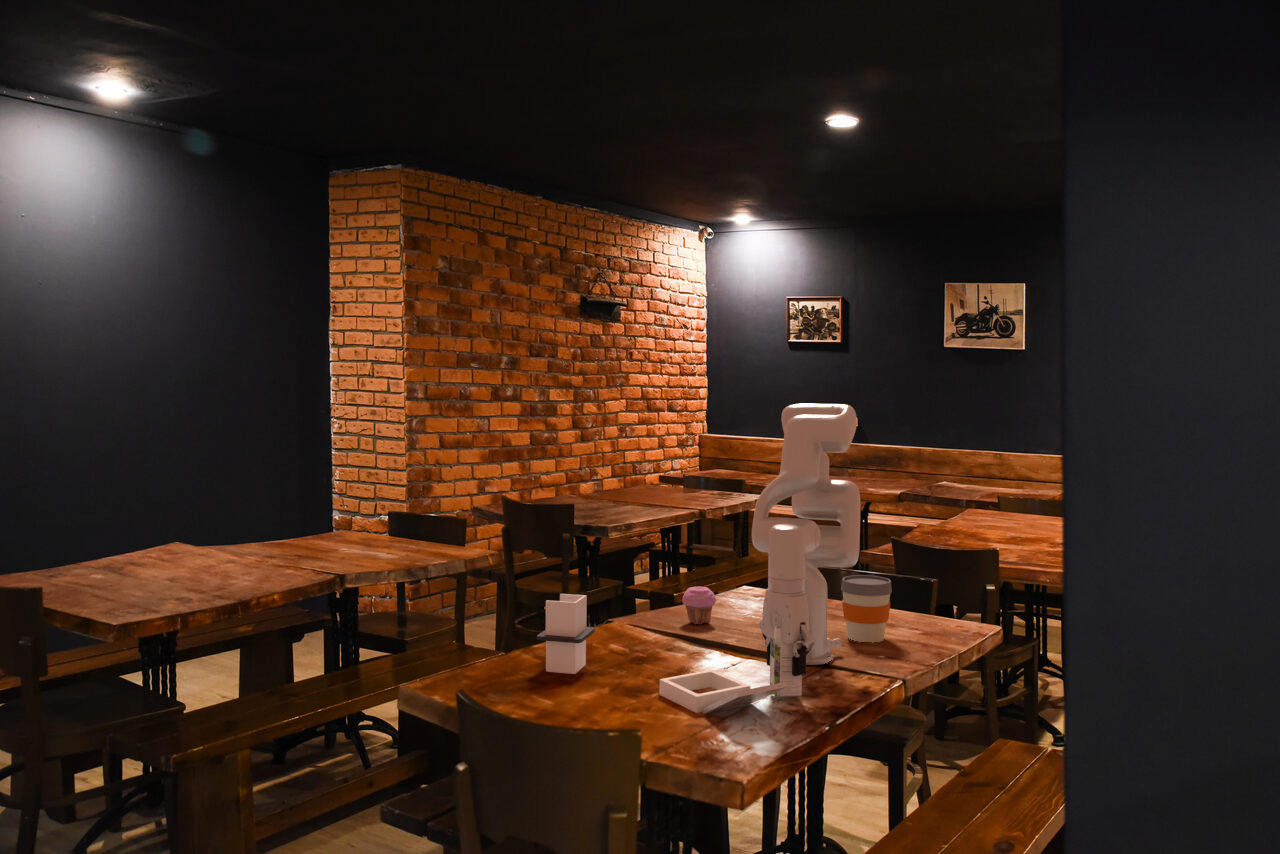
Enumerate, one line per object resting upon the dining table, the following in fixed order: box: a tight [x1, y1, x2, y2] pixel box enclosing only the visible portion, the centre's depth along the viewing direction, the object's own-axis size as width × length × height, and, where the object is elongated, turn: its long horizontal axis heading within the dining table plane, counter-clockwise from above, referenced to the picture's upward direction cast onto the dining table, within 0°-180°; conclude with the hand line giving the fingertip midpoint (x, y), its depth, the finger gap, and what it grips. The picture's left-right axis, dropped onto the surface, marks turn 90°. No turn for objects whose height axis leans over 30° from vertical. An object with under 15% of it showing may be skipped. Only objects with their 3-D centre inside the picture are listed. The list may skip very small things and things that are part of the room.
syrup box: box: [769, 626, 803, 698], centre depth 211 cm, size 6×6×14 cm
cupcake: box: [681, 586, 717, 625], centre depth 275 cm, size 9×9×10 cm
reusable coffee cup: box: [840, 574, 893, 644], centre depth 259 cm, size 13×13×15 cm
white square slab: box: [702, 682, 788, 715], centre depth 199 cm, size 13×12×1 cm
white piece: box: [659, 669, 751, 714], centre depth 211 cm, size 13×13×4 cm
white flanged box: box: [536, 593, 596, 675], centre depth 233 cm, size 25×24×16 cm
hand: (786, 669), depth 211 cm, fingers closed on syrup box, 7 cm apart
